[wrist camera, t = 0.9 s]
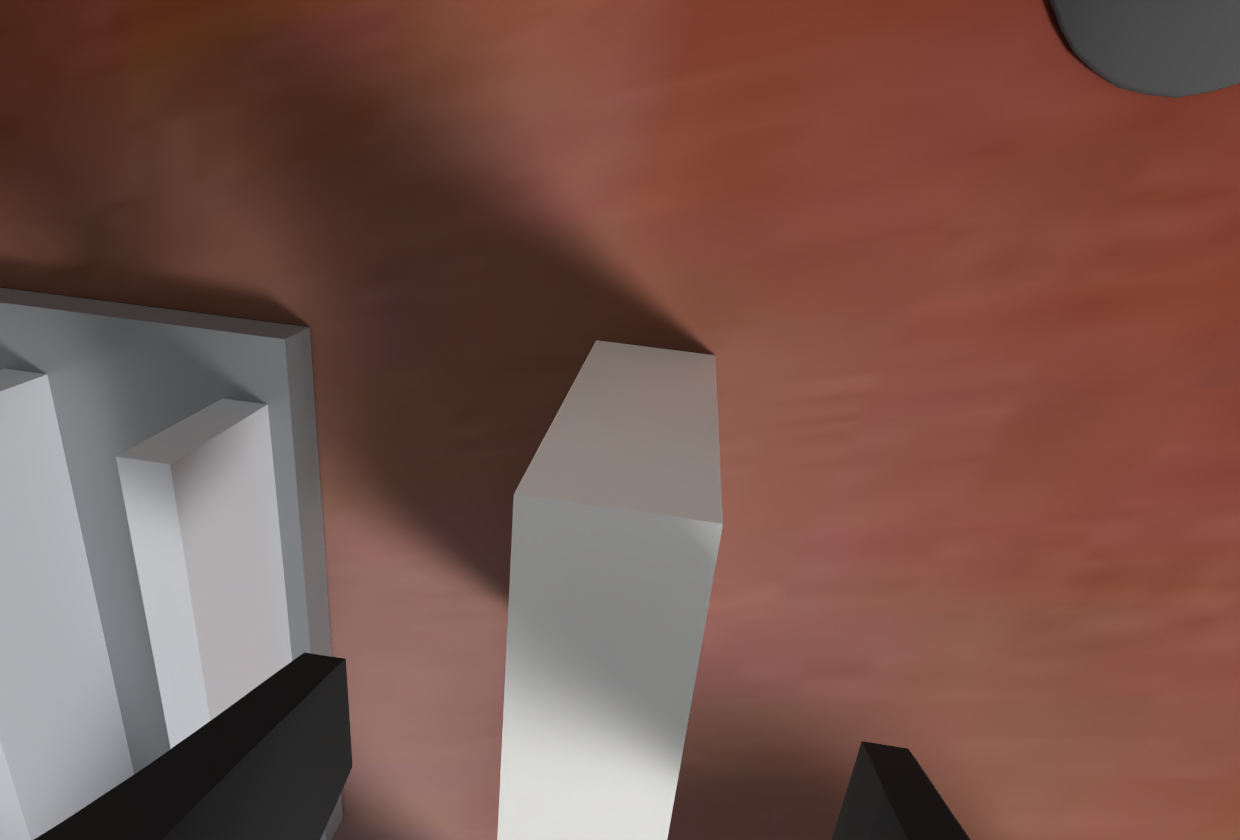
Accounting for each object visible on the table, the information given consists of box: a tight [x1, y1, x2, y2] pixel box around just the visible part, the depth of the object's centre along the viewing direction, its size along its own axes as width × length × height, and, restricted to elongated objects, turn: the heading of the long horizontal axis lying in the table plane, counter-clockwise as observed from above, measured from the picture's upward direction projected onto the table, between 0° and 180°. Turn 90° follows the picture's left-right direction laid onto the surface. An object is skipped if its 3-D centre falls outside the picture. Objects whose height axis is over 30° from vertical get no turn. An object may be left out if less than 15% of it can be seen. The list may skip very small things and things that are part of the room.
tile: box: [497, 340, 723, 840], centre depth 13 cm, size 8×2×7 cm, turn 174°
